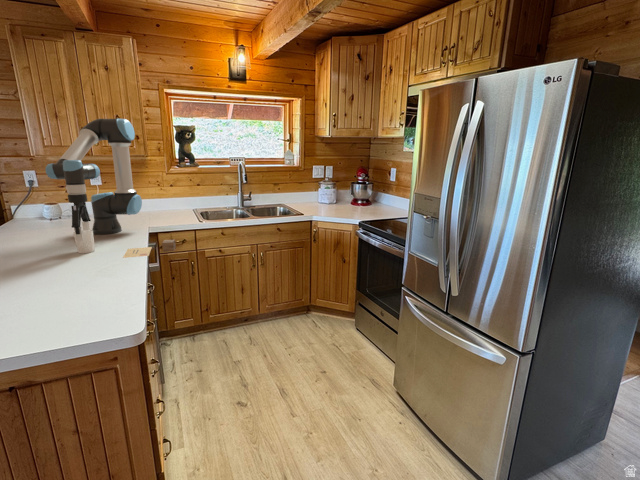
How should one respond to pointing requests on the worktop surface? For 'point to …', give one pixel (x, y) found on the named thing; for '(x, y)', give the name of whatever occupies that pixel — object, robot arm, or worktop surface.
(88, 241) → the white cup
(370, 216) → the worktop surface
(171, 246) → the walnut block
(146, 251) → the envelope
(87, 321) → the worktop surface
